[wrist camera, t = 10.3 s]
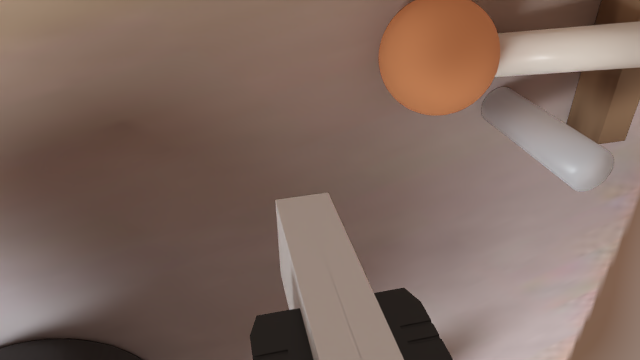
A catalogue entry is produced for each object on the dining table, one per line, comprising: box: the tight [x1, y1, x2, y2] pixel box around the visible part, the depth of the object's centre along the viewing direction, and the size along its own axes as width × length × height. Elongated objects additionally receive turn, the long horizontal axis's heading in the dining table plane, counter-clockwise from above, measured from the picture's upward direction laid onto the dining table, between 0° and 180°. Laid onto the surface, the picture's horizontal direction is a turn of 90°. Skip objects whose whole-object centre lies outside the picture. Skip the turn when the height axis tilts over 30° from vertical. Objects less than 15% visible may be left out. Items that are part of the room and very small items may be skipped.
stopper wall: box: [567, 0, 640, 144], centre depth 29 cm, size 11×2×3 cm, turn 0°
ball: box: [379, 0, 500, 115], centre depth 25 cm, size 6×6×6 cm
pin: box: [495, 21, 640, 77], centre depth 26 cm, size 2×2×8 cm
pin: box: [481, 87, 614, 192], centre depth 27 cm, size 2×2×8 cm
